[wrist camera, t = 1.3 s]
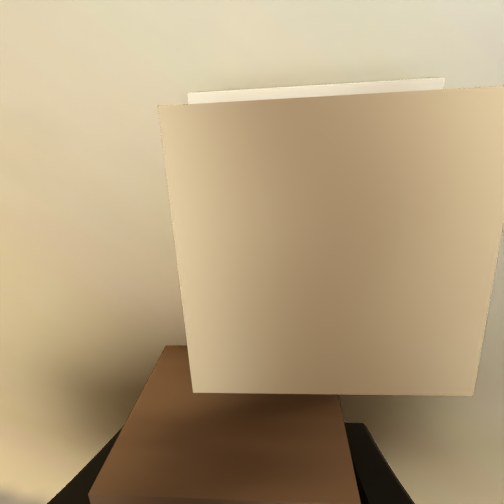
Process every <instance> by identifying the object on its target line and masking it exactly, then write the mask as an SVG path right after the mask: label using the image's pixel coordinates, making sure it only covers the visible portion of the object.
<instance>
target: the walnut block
mask: <svg viewBox="0 0 504 504" xmlns="http://www.w3.org/2000/svg"><path fill="white" fill-rule="evenodd" d="M88 496H89V500H90V504H361V502H360V497H359V492H358V487H357V482H356V478H355V473H354V468H353V463H352V459H351V454H350V449H349V444H348V439H347V435H346V430H345V425H344V420H343V415H342V411H341V406H340V401H339V396H338V394H263V393H193V389H192V380H191V372H190V364H189V356H188V348H187V346H166V347H165V348H164V350H163V352H162V354H161V356H160V358H159V360H158V362H157V364H156V366H155V367H154V369H153V371H152V373H151V375H150V377H149V379H148V381H147V383H146V385H145V387H144V388H143V390H142V392H141V394H140V396H139V398H138V400H137V402H136V404H135V406H134V408H133V409H132V411H131V413H130V415H129V417H128V419H127V421H126V423H125V425H124V427H123V429H122V430H121V432H120V434H119V436H118V438H117V440H116V442H115V444H114V446H113V448H112V449H111V451H110V453H109V455H108V457H107V459H106V461H105V463H104V465H103V467H102V469H101V470H100V472H99V474H98V476H97V478H96V480H95V482H94V484H93V486H92V488H91V490H90V491H89V493H88Z"/></svg>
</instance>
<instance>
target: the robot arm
mask: <svg viewBox="0 0 504 504" xmlns="http://www.w3.org/2000/svg"><path fill="white" fill-rule="evenodd" d="M344 425H345V430H346V435H347V439H348V444H349V449H350V454H351V459H352V463H353V468H354V473H355V478H356V482H357V487H358V492H359V497H360V502H361V504H415V503H414V502H413V501H412V499H411V498H410V496H409V495H408V493H407V492H406V490H405V489H404V487H403V486H402V485H401V483H400V482H399V480H398V479H397V477H396V476H395V474H394V473H393V471H392V470H391V468H390V466H389V465H388V463H387V462H386V460H385V458H384V457H383V455H382V453H381V452H380V450H379V448H378V447H377V445H376V443H375V442H374V440H373V438H372V436H371V434H370V432H369V431H368V429H367V427H366V426H365V425H364V424H363V423H344ZM123 427H124V426H123ZM123 427H122V428H121V429H120V430H119V431H118V432H117V434H116V435H115V436H114V437H113V438H112V439H111V440H110V441H109V442H108V443H107V444H106V445H105V446H104V447H103V448H102V449H101V450H100V452H99V453H98V454H97V455H96V456H95V457H94V458H93V459H92V460H91V461H90V462H89V463H88V464H87V465H86V466H85V467H84V468H83V469H82V470H81V471H80V472H79V473H78V474H77V475H76V476H75V477H74V478H73V479H72V480H71V481H70V482H69V483H68V484H67V485H66V486H65V487H64V488H63V489H62V490H61V491H60V492H59V493H58V494H57V495H56V496H55V497H54V498H53V499H52V500H51V501H49V502H48V503H47V504H90V500H89V496H88V493H89V491H90V490H91V488H92V486H93V484H94V482H95V480H96V478H97V476H98V474H99V472H100V470H101V469H102V467H103V465H104V463H105V461H106V459H107V457H108V455H109V453H110V451H111V449H112V448H113V446H114V444H115V442H116V440H117V438H118V436H119V434H120V432H121V430H122V429H123Z"/></svg>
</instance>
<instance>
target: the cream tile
mask: <svg viewBox="0 0 504 504" xmlns="http://www.w3.org/2000/svg"><path fill="white" fill-rule="evenodd" d="M444 85H445V77H438V78H422V79H405V80H389V81H373V82H356V83H340V84H324V85H307V86H291V87H275V88H258V89H242V90H226V91H209V92H193V93H187V94H188V104H200V103H217V102H234V101H251V100H268V99H286V98H303V97H320V96H337V95H354V94H371V93H388V92H405V91H422V90H440V89H444Z"/></svg>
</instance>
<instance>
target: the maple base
mask: <svg viewBox="0 0 504 504" xmlns="http://www.w3.org/2000/svg"><path fill="white" fill-rule="evenodd" d="M158 112H159V120H160V128H161V136H162V144H163V152H164V161H165V169H166V177H167V185H168V193H169V201H170V209H171V218H172V226H173V234H174V242H175V250H176V258H177V266H178V275H179V283H180V291H181V299H182V307H183V315H184V323H185V332H186V340H187V348H188V356H189V364H190V372H191V380H192V389H193V393H263V394H343V395H424V396H473V395H474V389H475V384H476V378H477V372H478V367H479V361H480V355H481V349H482V344H483V338H484V332H485V327H486V321H487V315H488V310H489V304H490V298H491V293H492V287H493V281H494V276H495V270H496V264H497V259H498V253H499V247H500V242H501V236H502V230H503V225H504V86H491V87H474V88H457V89H440V90H422V91H405V92H388V93H371V94H354V95H337V96H320V97H303V98H286V99H268V100H251V101H234V102H217V103H200V104H183V105H166V106H158Z"/></svg>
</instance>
